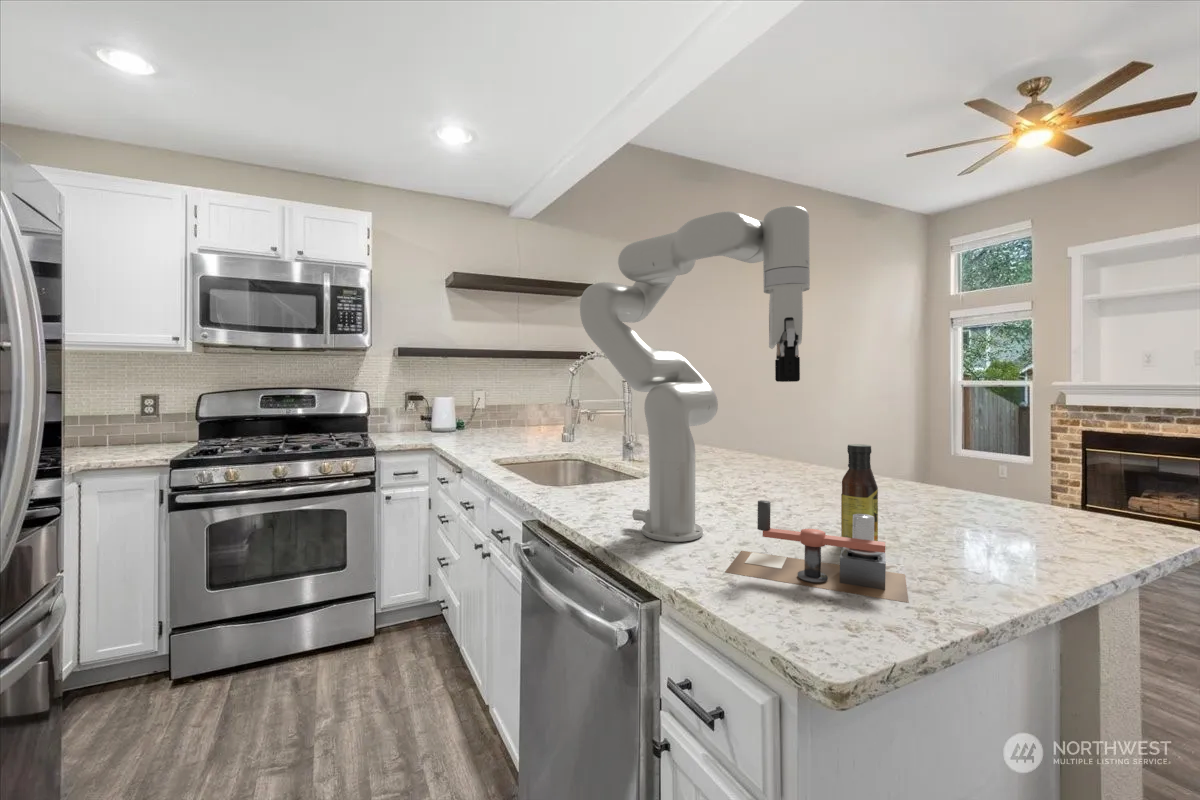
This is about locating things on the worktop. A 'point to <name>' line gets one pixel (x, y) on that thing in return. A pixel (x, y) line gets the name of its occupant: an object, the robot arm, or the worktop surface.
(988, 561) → the worktop surface
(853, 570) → the block
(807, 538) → the lever
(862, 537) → the peg
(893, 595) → the board
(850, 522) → the sauce bottle
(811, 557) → the pivot post
